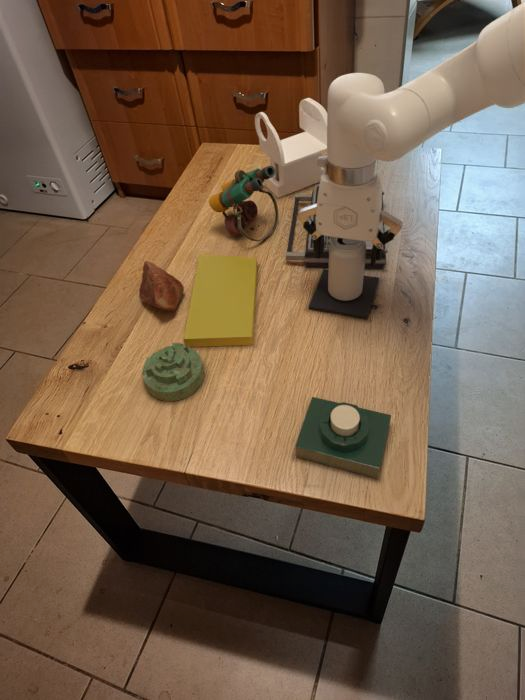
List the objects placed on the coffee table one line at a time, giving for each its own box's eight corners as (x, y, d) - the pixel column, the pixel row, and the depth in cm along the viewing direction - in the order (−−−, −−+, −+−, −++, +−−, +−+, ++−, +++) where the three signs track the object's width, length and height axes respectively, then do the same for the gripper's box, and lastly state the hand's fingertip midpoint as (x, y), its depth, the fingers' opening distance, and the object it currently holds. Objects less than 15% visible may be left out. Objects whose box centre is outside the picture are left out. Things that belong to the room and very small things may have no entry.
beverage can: (331, 278, 94) (332, 227, 85) (364, 282, 93) (369, 230, 84) (325, 301, 90) (325, 249, 81) (359, 305, 89) (364, 253, 80)
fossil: (176, 313, 88) (144, 266, 84) (141, 330, 91) (109, 285, 87) (197, 288, 98) (171, 245, 95) (166, 304, 102) (139, 263, 98)
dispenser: (389, 425, 73) (393, 407, 69) (378, 478, 67) (381, 461, 64) (312, 407, 76) (311, 388, 72) (295, 456, 71) (294, 439, 67)
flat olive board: (253, 344, 86) (258, 259, 101) (251, 336, 84) (257, 250, 100) (186, 347, 87) (201, 261, 102) (183, 339, 85) (199, 253, 101)
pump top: (361, 416, 69) (362, 408, 67) (355, 440, 67) (356, 432, 65) (334, 409, 70) (334, 401, 68) (327, 432, 68) (327, 425, 66)
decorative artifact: (150, 357, 86) (142, 403, 79) (139, 330, 81) (130, 377, 74) (206, 352, 85) (202, 399, 79) (198, 325, 80) (194, 373, 74)
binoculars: (263, 223, 115) (228, 168, 108) (309, 207, 105) (273, 144, 98) (234, 258, 107) (194, 201, 100) (281, 243, 98) (240, 179, 91)
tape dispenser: (283, 203, 114) (279, 127, 101) (257, 180, 122) (250, 106, 108) (333, 183, 118) (335, 107, 104) (305, 162, 126) (303, 89, 112)
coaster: (378, 280, 94) (379, 277, 93) (367, 319, 87) (367, 316, 87) (323, 271, 97) (323, 268, 96) (308, 309, 90) (308, 306, 90)
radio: (388, 247, 92) (284, 246, 95) (385, 269, 96) (285, 267, 99) (384, 179, 107) (295, 180, 110) (382, 200, 111) (296, 200, 114)
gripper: (289, 174, 73) (293, 264, 86) (406, 186, 68) (392, 279, 81) (303, 150, 77) (305, 238, 90) (414, 160, 72) (399, 251, 85)
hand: (346, 257), depth 85 cm, fingers open, 9 cm apart
